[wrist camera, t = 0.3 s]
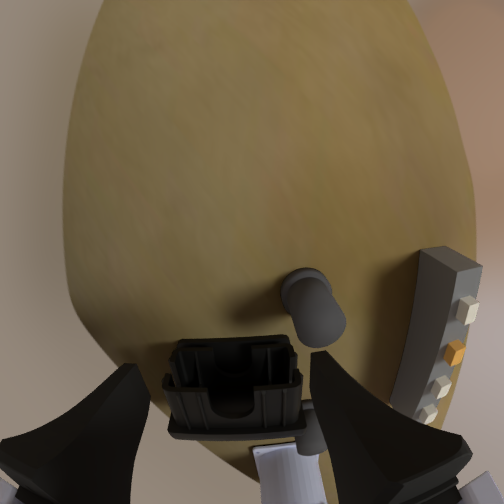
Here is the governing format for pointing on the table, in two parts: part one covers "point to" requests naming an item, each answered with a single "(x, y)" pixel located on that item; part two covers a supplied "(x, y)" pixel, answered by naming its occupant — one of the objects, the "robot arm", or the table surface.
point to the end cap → (235, 389)
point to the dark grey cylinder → (310, 433)
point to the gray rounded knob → (312, 307)
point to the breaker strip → (436, 331)
